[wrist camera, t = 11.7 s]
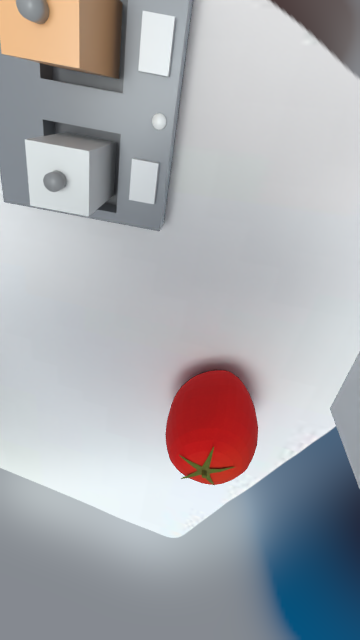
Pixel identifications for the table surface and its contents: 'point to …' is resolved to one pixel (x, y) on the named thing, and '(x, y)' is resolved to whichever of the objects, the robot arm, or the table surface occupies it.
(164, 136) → the socket block
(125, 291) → the table surface
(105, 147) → the white rectangular block
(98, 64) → the orange plug
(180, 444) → the tomato
